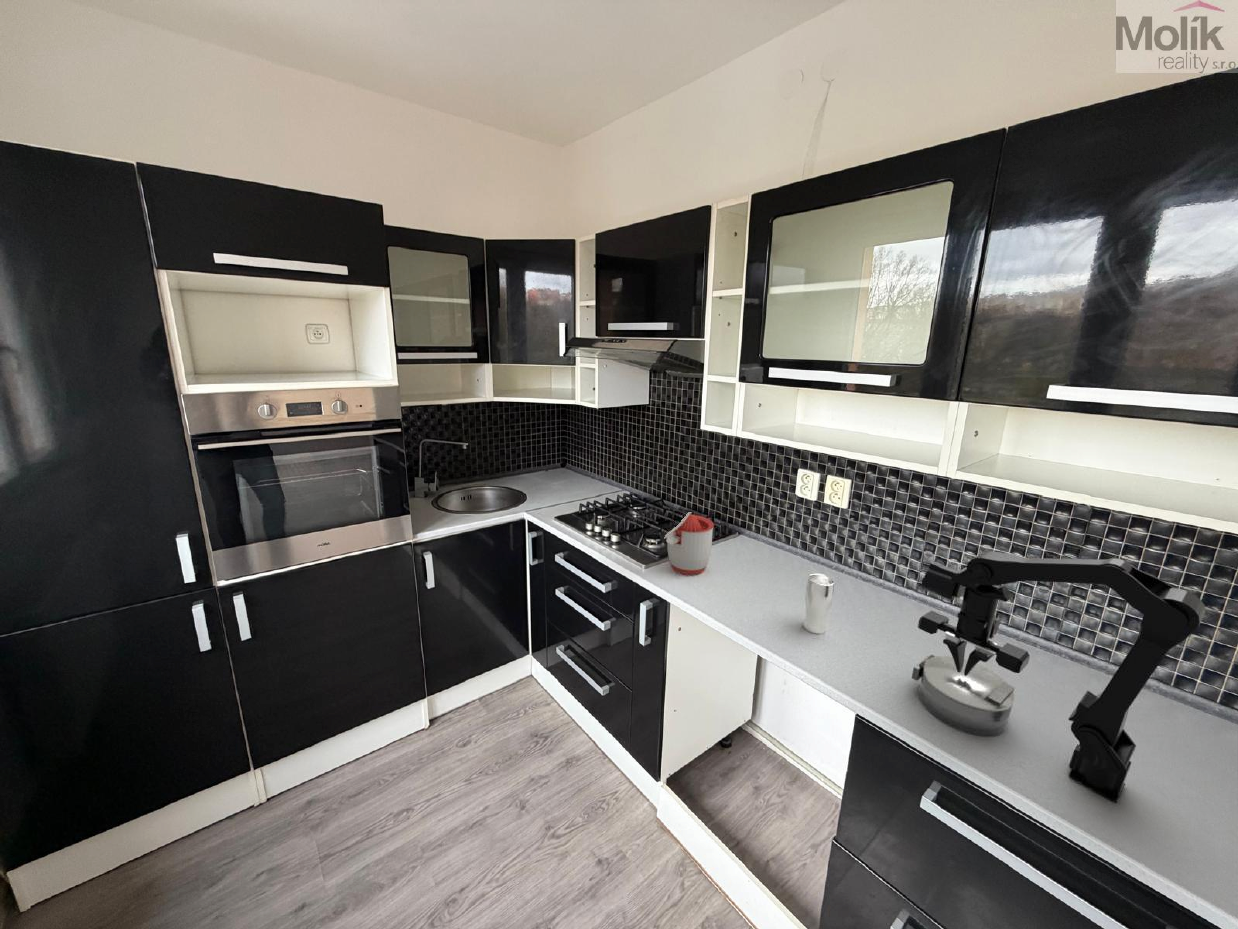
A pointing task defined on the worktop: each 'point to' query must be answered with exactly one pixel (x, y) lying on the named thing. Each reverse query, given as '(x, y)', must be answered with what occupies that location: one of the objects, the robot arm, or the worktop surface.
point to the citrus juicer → (690, 545)
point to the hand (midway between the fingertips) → (962, 673)
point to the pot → (959, 710)
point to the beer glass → (818, 602)
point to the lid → (968, 684)
